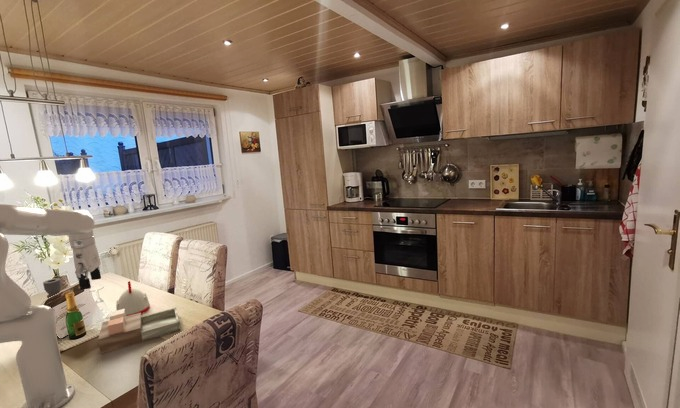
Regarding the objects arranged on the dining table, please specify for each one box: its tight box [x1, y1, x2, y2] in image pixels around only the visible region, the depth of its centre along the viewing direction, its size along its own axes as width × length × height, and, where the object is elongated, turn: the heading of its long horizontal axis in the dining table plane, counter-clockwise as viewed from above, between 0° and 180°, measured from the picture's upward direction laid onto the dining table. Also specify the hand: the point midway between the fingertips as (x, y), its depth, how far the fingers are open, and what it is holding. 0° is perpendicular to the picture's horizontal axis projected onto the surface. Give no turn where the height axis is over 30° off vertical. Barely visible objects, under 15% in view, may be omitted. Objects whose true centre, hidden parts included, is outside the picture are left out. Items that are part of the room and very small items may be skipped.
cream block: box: [109, 309, 126, 322], centre depth 138 cm, size 5×5×4 cm
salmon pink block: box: [108, 317, 125, 335], centre depth 130 cm, size 5×5×4 cm
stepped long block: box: [97, 307, 181, 355], centre depth 139 cm, size 16×28×6 cm, turn 121°
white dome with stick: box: [115, 280, 151, 316], centre depth 159 cm, size 14×14×15 cm
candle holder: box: [42, 277, 63, 340], centre depth 139 cm, size 6×6×25 cm
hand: (91, 283), depth 128 cm, fingers open, 9 cm apart
